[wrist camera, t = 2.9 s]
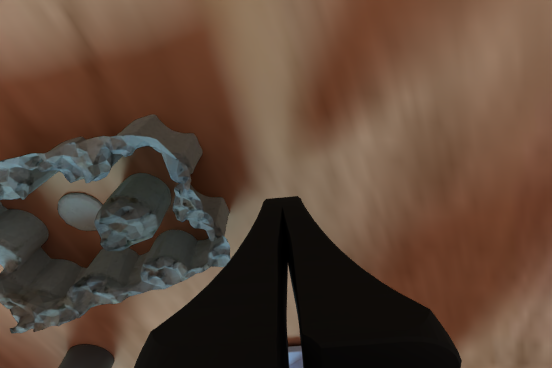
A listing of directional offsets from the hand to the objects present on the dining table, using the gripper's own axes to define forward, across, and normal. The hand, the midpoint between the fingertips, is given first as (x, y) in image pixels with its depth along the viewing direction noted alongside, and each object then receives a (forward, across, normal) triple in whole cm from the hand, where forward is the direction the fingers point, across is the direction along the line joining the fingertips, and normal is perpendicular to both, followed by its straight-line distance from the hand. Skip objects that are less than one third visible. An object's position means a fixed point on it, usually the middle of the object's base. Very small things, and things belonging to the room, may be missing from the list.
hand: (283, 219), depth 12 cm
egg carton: (+3, +8, 0) cm, 9 cm away
